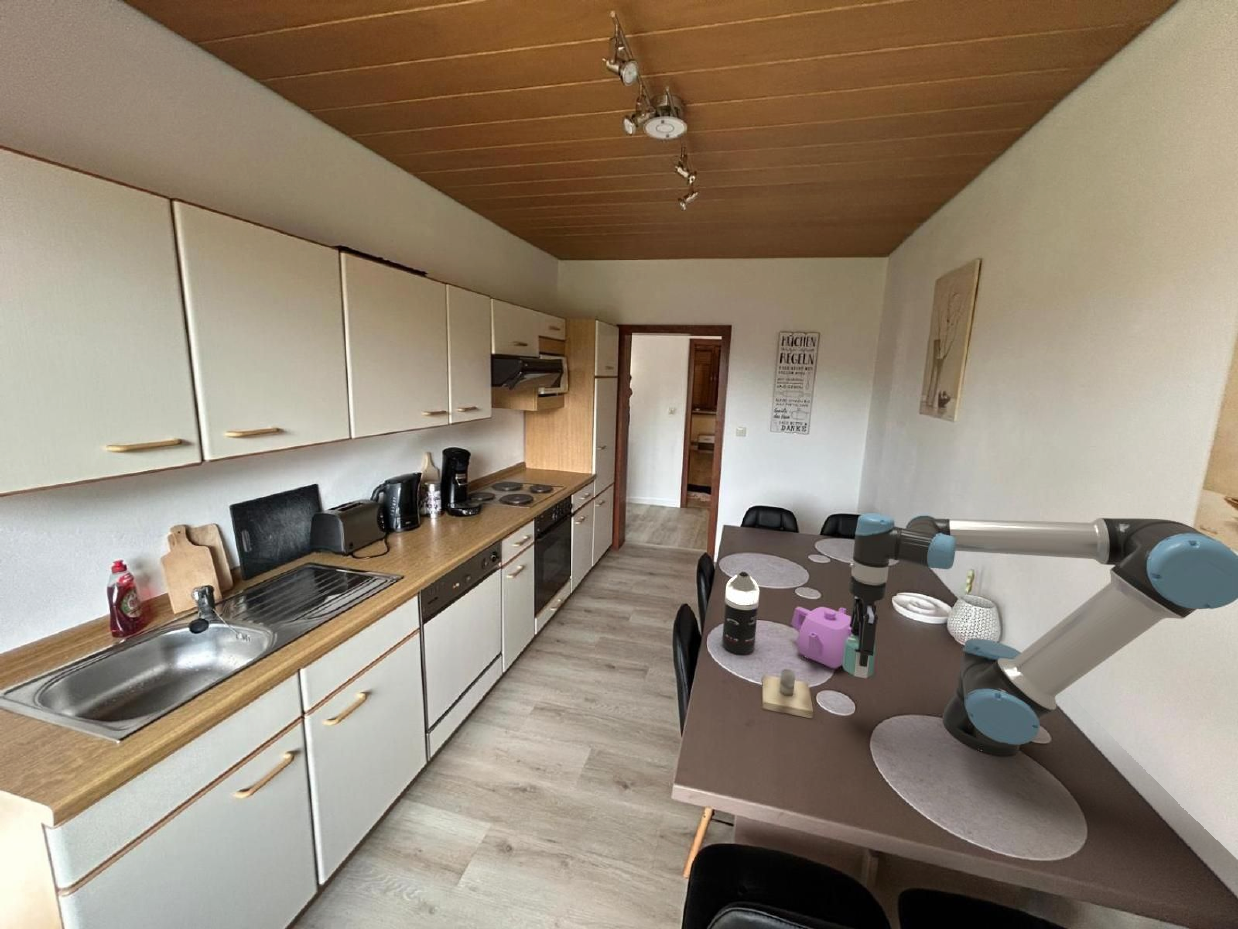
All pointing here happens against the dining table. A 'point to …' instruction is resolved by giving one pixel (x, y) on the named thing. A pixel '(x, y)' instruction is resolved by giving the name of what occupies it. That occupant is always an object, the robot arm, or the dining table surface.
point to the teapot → (822, 634)
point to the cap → (854, 655)
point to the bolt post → (786, 695)
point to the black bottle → (740, 614)
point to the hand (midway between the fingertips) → (857, 667)
